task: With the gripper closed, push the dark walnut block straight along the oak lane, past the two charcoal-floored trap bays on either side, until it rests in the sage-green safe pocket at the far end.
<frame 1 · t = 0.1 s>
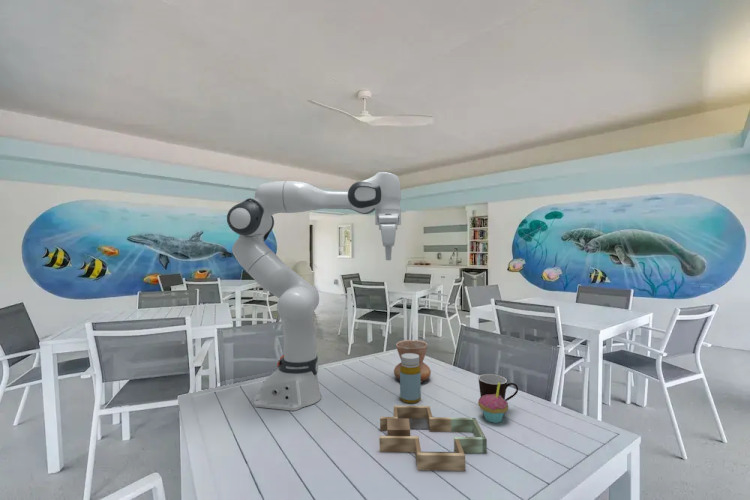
hand: (388, 259, 117), 48 cm above the table, fingers open, 8 cm apart
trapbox: (428, 440, 92), on the table
block: (398, 440, 92), on the table
cupcake: (493, 419, 103), on the table
ceramic jug: (412, 380, 135), on the table
coffee mug: (497, 412, 108), on the table
bottle: (410, 400, 117), on the table
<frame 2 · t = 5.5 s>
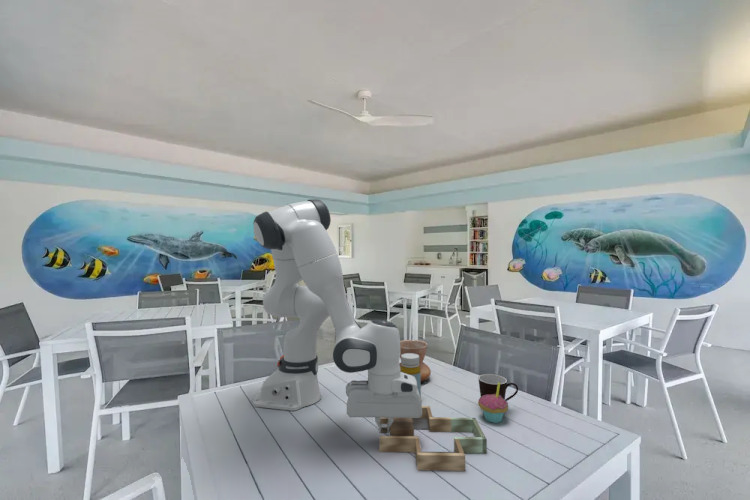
hand: (384, 432, 92), 2 cm above the table, fingers closed
block: (401, 440, 92), on the table, touching gripper
everything else where it was.
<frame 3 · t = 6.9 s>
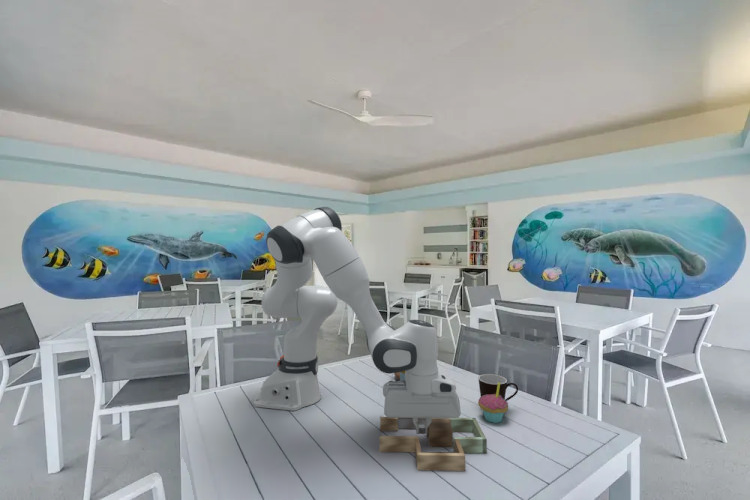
hand: (421, 432, 91), 2 cm above the table, fingers closed
block: (439, 440, 91), on the table, touching gripper
everything else where it was.
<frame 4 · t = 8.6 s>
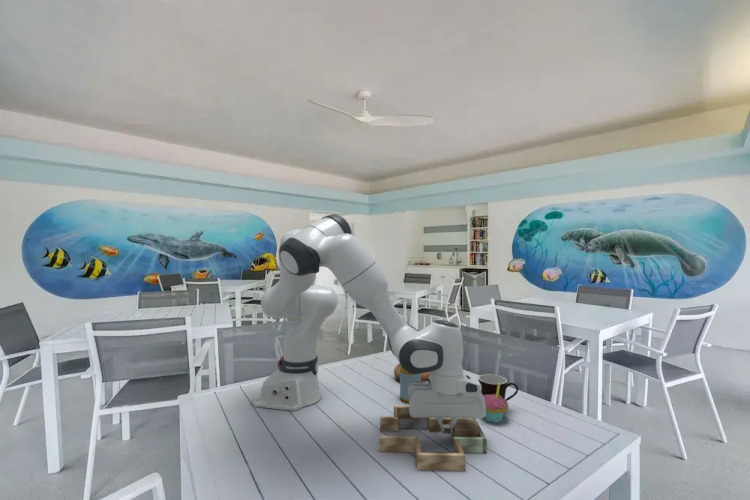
hand: (446, 432, 91), 2 cm above the table, fingers closed
block: (464, 441, 91), on the table
everything else where it was.
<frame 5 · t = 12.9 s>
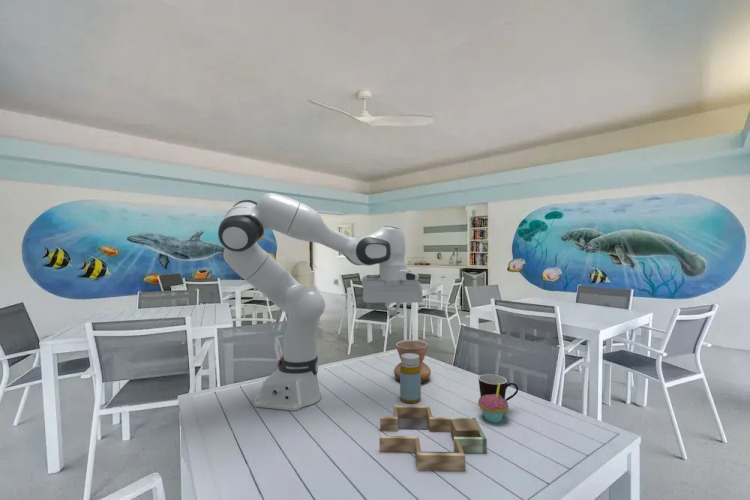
hand: (392, 315, 115), 29 cm above the table, fingers closed
nothing on the table moved.
at the end: block inside the target area (0.6 cm from its centre), on the table; block tilted 0°; block moved 17.8 cm from its start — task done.
